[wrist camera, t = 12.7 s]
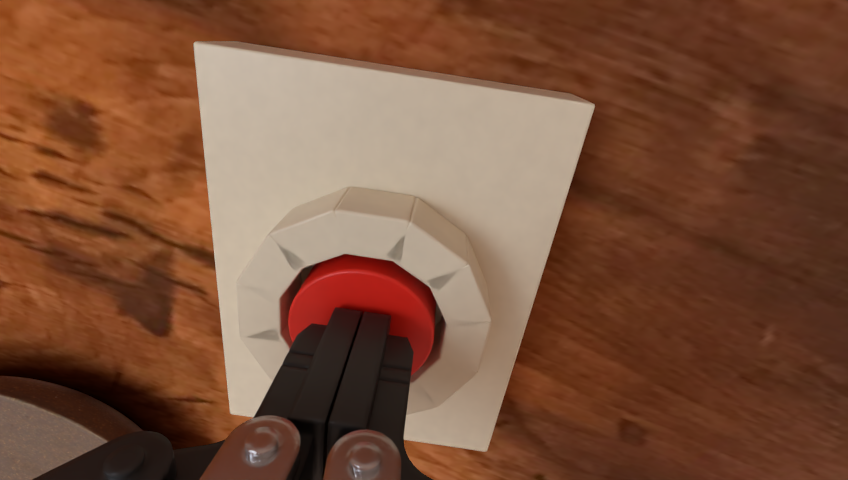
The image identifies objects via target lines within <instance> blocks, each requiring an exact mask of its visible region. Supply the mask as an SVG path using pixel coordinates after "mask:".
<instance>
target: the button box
mask: <svg viewBox="0 0 848 480" xmlns="http://www.w3.org/2000/svg"><path fill="white" fill-rule="evenodd" d="M194 55H195V65H196V75H197V85H198V95H199V105H200V115H201V125H202V135H203V145H204V156H205V166H206V176H207V186H208V196H209V206H210V216H211V226H212V236H213V246H214V256H215V266H216V276H217V286H218V296H219V307H220V317H221V327H222V337H223V347H224V357H225V367H226V377H227V387H228V397H229V407H230V413H231V414H234V415H241V416H248V417H254V416H255V414H256V412H257V410H258V409H259V407H260V405H261V403H262V401H263V399H264V397H265V395H266V393H267V391H268V390H269V388H270V386H271V384H272V382H273V380H274V378H275V376H276V374H277V372H278V371H279V369H280V367H281V366H282V364H283V361H284V359H285V357H286V355H287V353H289V350H290V348H291V346H292V344H293V342H292V340H291V337H290V333H289V326H288V316H289V310H290V306H291V304H292V301H293V299H294V297H295V296H296V294H297V292H298V291H299V289H300V288H301V286H302V284H303V283H304V281H305V279H306V278H307V276H308V274H309V273H310V271H311V269H312V268H313V266H314V265H315V264H317V263H320V262H323V261H326V260H329V259H331V258H334V257H337V256H340V255H343V254H349V255H356V256H362V257H369V258H376V259H382V260H389V261H393V262H394V263H396V264H397V265H399V266H400V267H402V268H403V269H404V270H406V271H407V272H409V273H410V274H412V275H413V276H414V277H416V278H417V279H419V280H420V281H422V282H423V283H425V284H426V285H427V286H429V287H430V289H431V291H432V294H433V296H434V298H435V300H436V313H435V331H434V342H433V346H432V350H431V352H430V354H429V356H428V358H427V360H426V361H425V363H424V364H423V365H422V366H421V367H420V368H419V370H417V371H416V372H415V373H414V374H413V375H411V379H410V388H409V396H408V404H407V413H406V421H405V429H404V440H410V441H417V442H423V443H430V444H437V445H444V446H450V447H457V448H464V449H471V450H478V451H484V452H486V451H487V449H488V446H489V443H490V440H491V437H492V433H493V430H494V427H495V424H496V421H497V417H498V414H499V411H500V408H501V405H502V401H503V398H504V395H505V392H506V389H507V386H508V382H509V379H510V376H511V373H512V370H513V366H514V363H515V360H516V357H517V354H518V350H519V347H520V344H521V341H522V338H523V334H524V331H525V328H526V325H527V322H528V319H529V315H530V312H531V309H532V306H533V303H534V299H535V296H536V293H537V290H538V287H539V283H540V280H541V277H542V274H543V271H544V267H545V264H546V261H547V258H548V255H549V252H550V248H551V245H552V242H553V239H554V236H555V232H556V229H557V226H558V223H559V220H560V216H561V213H562V210H563V207H564V204H565V200H566V197H567V194H568V191H569V188H570V185H571V181H572V178H573V175H574V172H575V169H576V165H577V162H578V159H579V156H580V153H581V149H582V146H583V143H584V140H585V137H586V134H587V130H588V127H589V124H590V121H591V118H592V114H593V111H594V108H595V104H593V103H591V102H589V101H587V100H584V99H582V98H580V97H578V96H575V95H573V94H570V93H564V92H558V91H551V90H545V89H538V88H532V87H526V86H519V85H513V84H506V83H500V82H493V81H487V80H481V79H474V78H468V77H461V76H455V75H449V74H442V73H436V72H429V71H423V70H417V69H410V68H404V67H397V66H391V65H385V64H378V63H372V62H365V61H359V60H352V59H346V58H340V57H333V56H327V55H320V54H314V53H308V52H301V51H295V50H288V49H282V48H276V47H269V46H263V45H256V44H250V43H244V42H237V41H197V42H194Z"/></svg>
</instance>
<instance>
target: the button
mask: <svg viewBox="0 0 848 480" xmlns="http://www.w3.org/2000/svg"><path fill="white" fill-rule="evenodd" d="M335 307H339V308H345V309H352V310H358V311H363V314H364V312H365V311H366V312H372V313H379V314H385V315H391V323H390V331H389V335H394V336H401V337H407V338H408V340H409V342H410V345H411V347H412V349H413V352H414V354H413V363H412V371H411V375H413V374H414V373H415V372H416V371H417V370H419V368H420V367H421V366H422V365H423V364H424V363H425V361H426V360H427V358H428V356H429V354H430V352H431V350H432V346H433V342H434V331H435V313H436V300H435V298H434V296H433V294H432V291H431V289H430V287H429V286H427V285H426V284H425V283H423V282H422V281H420V280H419V279H417V278H416V277H414V276H413V275H412V274H410V273H409V272H407V271H406V270H404V269H403V268H402V267H400V266H399V265H397V264H396V263H394V262H393V261H389V260H382V259H376V258H369V257H362V256H356V255H349V254H343V255H340V256H337V257H334V258H331V259H329V260H326V261H323V262H320V263H317V264H315V265H314V266H313V268H312V269H311V271H310V273H309V274H308V276H307V278H306V279H305V281H304V283H303V284H302V286H301V288H300V289H299V291H298V292H297V294H296V296H295V297H294V299H293V301H292V304H291V306H290V310H289V316H288V326H289V333H290V337H291V340H292V342H294V340H295V338H296V336H297V335H298V334H299V333H300V332H301V331H303V330H304V329H305V328H306V327H308V326H309V325H310V324H311V323H314V324H321V325H327V324H328V322H329V320H330V317H331V315H332V313H333V311H334V309H335Z"/></svg>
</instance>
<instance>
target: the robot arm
mask: <svg viewBox="0 0 848 480" xmlns="http://www.w3.org/2000/svg"><path fill="white" fill-rule="evenodd" d="M390 323H391V315H385V314H379V313H372V312H366V311H365V312H364V314H363V311H358V310H352V309H345V308H339V307H335V309H334V311H333V313H332V315H331V317H330V320H329V322H328V324H327V325H321V324H314V323H311V324H310V325H309V326H308V327H306V328H305V329H304V330H303V331H301V332H300V333H299V334H298V335H297V336H296V338H295V340H294V342H293V344H292V346H291V348H290V350H289V353H287V355H286V357H285V359H284V361H283V364H282V366H281V367H280V369H279V371H278V372H277V374H276V376H275V378H274V380H273V382H272V384H271V386H270V388H269V390H268V391H267V393H266V395H265V397H264V399H263V401H262V403H261V405H260V407H259V409H258V410H257V412H256V414H255V416H254V417H253V419H250V420H248V421H246V422H244V423H242V424H241V425H239V426H238V427H237V428H235V429H234V430H233V431H232V432H231V433H230V434H229V436H228V437H227V438H226V439H225V440H223V441H220V442H217V443H214V444H209V445H203V446H196V447H189V448H182V449H175V450H173V448H172V445H171V442H170V441H169V440H168V438H167V437H165V436H164V435H162V434H160V433H157V432H152V431H138V432H133V433H128V434H125V435H122V436H119V437H117V438H115V439H113V440H111V441H109V442H107V443H105V444H103V445H101V446H99V447H96V448H94V449H92V450H90V451H88V452H86V453H84V454H82V455H80V456H78V457H76V458H74V459H72V460H70V461H68V462H66V463H64V464H62V465H60V466H58V467H56V468H54V469H52V470H50V471H48V472H46V473H44V474H42V475H40V476H38V477H36V478H34V479H32V480H433V479H431V478H429V477H427V476H426V475H424V474H422V473H421V472H420V471H419V470H418V469H417V468H416V467H415V466H414V465H413V464H412V463H411V461H410V460H409V458H408V456H407V454H406V451H405V448H404V429H405V421H406V413H407V404H408V396H409V388H410V379H411V371H412V363H413V354H414V352H413V349H412V347H411V345H410V342H409V340H408V338H407V337H401V336H394V335H389V331H390Z"/></svg>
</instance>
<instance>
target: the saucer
mask: <svg viewBox="0 0 848 480" xmlns="http://www.w3.org/2000/svg"><path fill="white" fill-rule="evenodd" d="M138 431H143V430H142V429H141V428H139V427H138V426H137V425H136V424H135V423H134V422H133V421H131V420H130V419H128V418H127V417H126V416H124V415H123V414H121V413H120V412H118V411H117V410H115V409H113V408H112V407H110V406H108V405H107V404H105V403H103V402H101V401H99V400H97V399H95V398H93V397H91V396H88V395H86V394H84V393H81V392H79V391H76V390H73V389H70V388H67V387H64V386H61V385H58V384H54V383H50V382H46V381H41V380H36V379H30V378H23V377H13V376H0V480H32V479H34V478H36V477H38V476H40V475H42V474H44V473H46V472H48V471H50V470H52V469H54V468H56V467H58V466H60V465H62V464H64V463H66V462H68V461H70V460H72V459H74V458H76V457H78V456H80V455H82V454H84V453H86V452H88V451H90V450H92V449H94V448H96V447H99V446H101V445H103V444H105V443H107V442H109V441H111V440H113V439H115V438H117V437H119V436H122V435H125V434H128V433H133V432H138Z"/></svg>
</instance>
